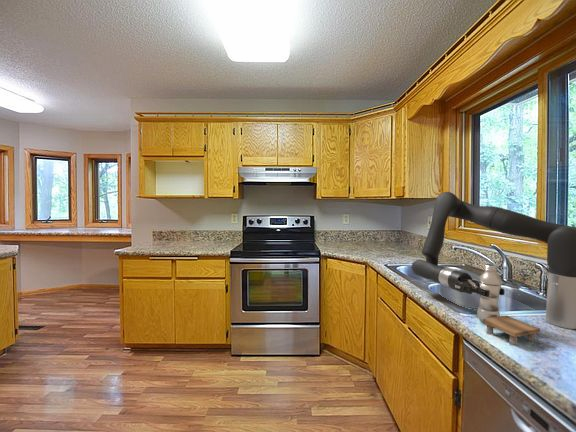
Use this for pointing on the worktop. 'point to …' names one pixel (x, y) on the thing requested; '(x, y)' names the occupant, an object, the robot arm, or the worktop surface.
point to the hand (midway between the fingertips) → (496, 293)
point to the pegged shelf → (511, 328)
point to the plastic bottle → (493, 284)
